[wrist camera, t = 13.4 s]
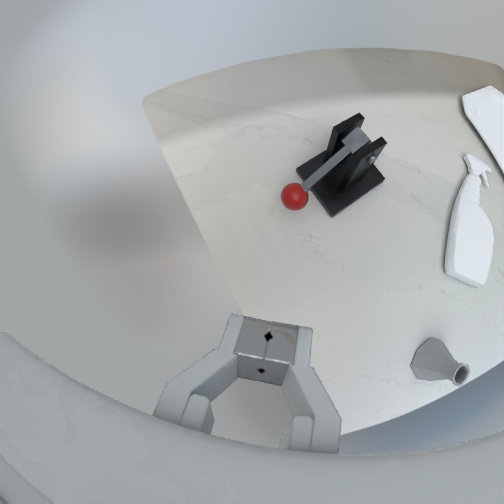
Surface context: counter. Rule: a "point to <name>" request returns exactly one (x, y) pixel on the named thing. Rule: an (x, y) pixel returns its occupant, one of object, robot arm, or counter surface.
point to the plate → (488, 118)
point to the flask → (438, 364)
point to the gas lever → (323, 170)
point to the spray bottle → (470, 230)
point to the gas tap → (345, 170)
